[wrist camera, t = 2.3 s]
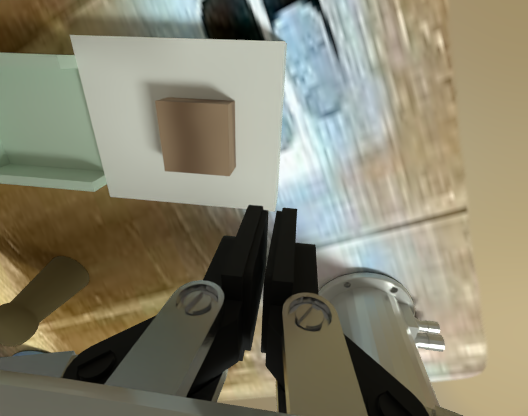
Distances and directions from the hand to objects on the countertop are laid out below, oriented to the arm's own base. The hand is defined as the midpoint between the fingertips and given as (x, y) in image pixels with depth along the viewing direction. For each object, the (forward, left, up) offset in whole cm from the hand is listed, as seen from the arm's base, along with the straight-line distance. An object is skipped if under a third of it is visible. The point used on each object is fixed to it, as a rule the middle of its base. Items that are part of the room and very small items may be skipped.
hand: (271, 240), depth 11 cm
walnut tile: (+8, 0, -16) cm, 18 cm away
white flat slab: (+10, 0, -19) cm, 22 cm away
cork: (+31, +23, -19) cm, 43 cm away
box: (+25, 0, -19) cm, 32 cm away
